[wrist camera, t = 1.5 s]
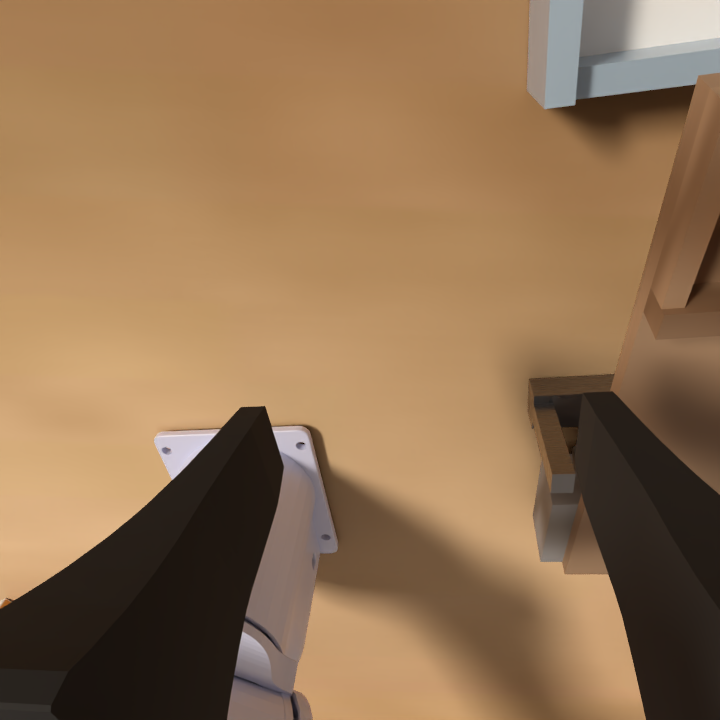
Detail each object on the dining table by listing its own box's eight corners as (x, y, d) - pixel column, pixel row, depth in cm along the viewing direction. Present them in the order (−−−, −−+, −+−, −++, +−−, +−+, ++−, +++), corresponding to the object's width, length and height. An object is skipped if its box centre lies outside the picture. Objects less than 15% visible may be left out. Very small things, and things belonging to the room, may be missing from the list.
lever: (675, 513, 27) (706, 596, 24) (532, 515, 28) (546, 595, 25) (967, -10, 11) (1154, 60, 8) (609, 41, 12) (668, 118, 9)
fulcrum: (709, 402, 23) (773, 496, 19) (527, 410, 25) (549, 500, 20) (719, 368, 22) (789, 459, 18) (529, 378, 24) (553, 466, 19)
